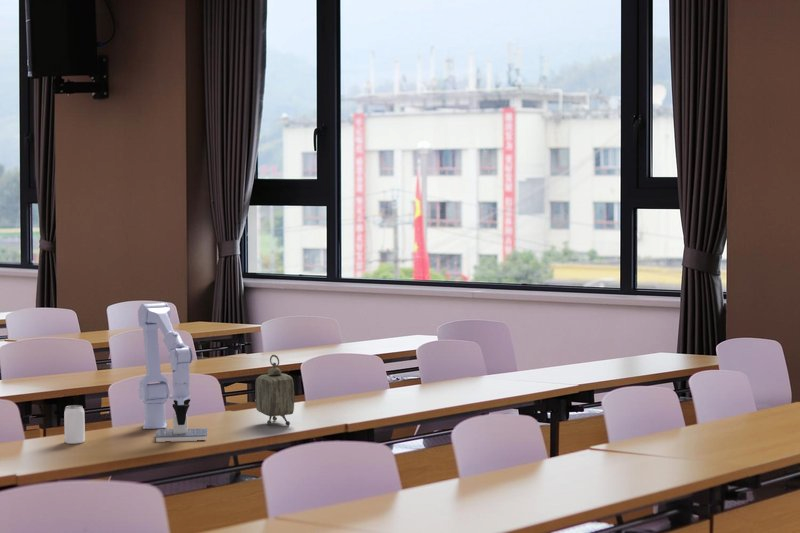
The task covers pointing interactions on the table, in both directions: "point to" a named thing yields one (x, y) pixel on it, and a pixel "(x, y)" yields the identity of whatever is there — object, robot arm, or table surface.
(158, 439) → the notebook
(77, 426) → the can
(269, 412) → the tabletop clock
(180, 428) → the block
